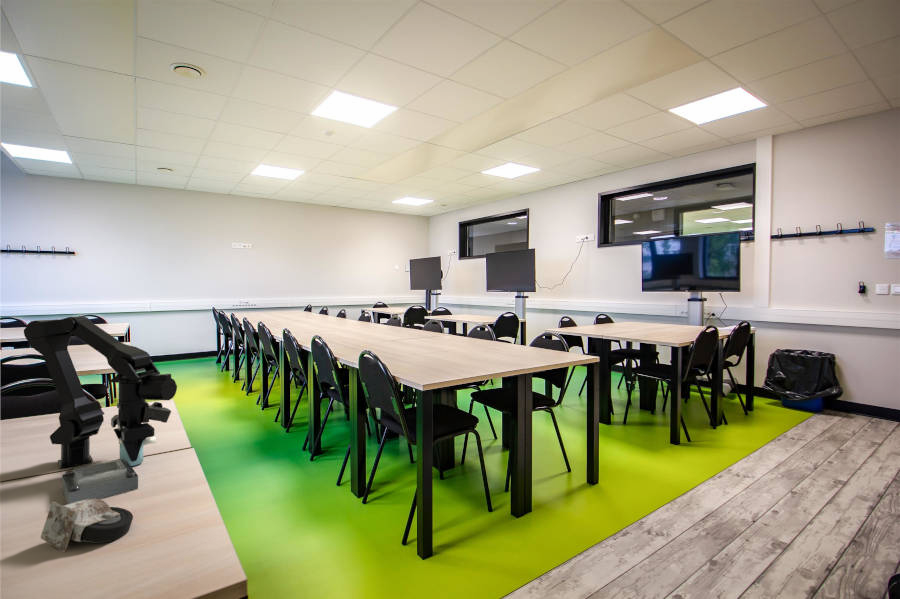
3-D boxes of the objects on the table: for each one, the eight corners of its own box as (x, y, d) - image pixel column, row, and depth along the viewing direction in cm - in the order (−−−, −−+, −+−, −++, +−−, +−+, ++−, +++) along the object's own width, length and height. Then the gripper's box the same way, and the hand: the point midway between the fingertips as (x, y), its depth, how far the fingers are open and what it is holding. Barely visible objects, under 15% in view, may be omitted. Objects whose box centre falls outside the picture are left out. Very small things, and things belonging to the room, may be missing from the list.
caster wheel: (136, 541, 82) (79, 565, 72) (95, 519, 85) (36, 539, 75) (147, 507, 82) (92, 525, 73) (106, 486, 86) (48, 501, 76)
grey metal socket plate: (61, 487, 98) (62, 468, 98) (126, 472, 107) (126, 454, 107) (68, 507, 89) (68, 485, 89) (138, 488, 98) (138, 469, 98)
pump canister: (116, 463, 112) (116, 438, 112) (152, 454, 118) (152, 430, 118) (121, 468, 108) (121, 442, 108) (158, 459, 114) (158, 435, 114)
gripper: (177, 400, 111) (177, 459, 111) (159, 388, 124) (158, 442, 124) (125, 408, 103) (124, 472, 103) (110, 395, 116) (110, 452, 116)
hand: (131, 458), depth 112 cm, fingers closed on pump canister, 5 cm apart
